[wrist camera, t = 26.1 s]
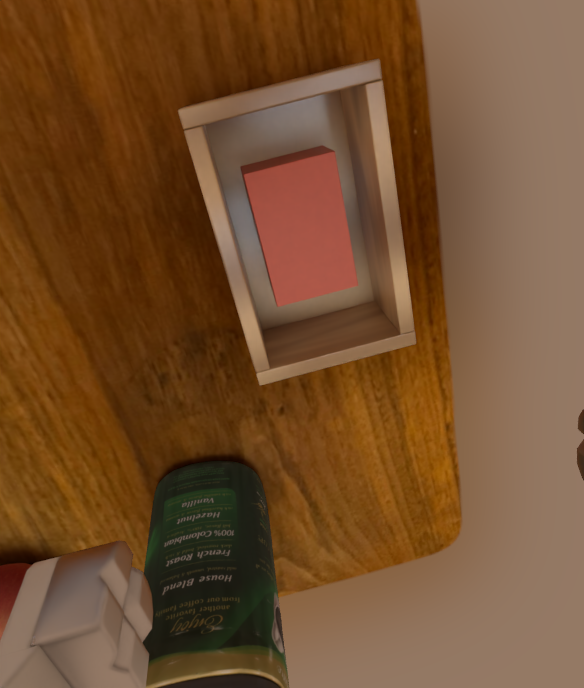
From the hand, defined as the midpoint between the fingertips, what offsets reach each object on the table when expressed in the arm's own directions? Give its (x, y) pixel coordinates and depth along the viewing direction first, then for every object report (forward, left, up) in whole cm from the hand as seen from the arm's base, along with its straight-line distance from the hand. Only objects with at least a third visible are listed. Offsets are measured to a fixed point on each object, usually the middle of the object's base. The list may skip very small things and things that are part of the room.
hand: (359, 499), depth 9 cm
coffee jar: (+19, -8, -23) cm, 31 cm away
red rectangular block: (0, +2, -22) cm, 22 cm away
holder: (0, +2, -22) cm, 23 cm away
